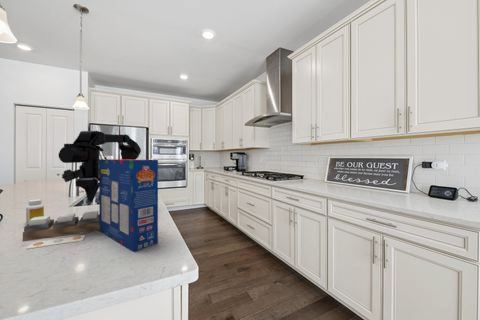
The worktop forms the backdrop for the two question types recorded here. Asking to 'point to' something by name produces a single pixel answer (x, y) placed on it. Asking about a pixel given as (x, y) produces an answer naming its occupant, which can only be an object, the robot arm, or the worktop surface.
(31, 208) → the supplement bottle
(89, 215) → the key
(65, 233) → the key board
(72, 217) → the key middle
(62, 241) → the pattern card
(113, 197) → the blue cardboard box
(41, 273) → the worktop surface
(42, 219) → the key
